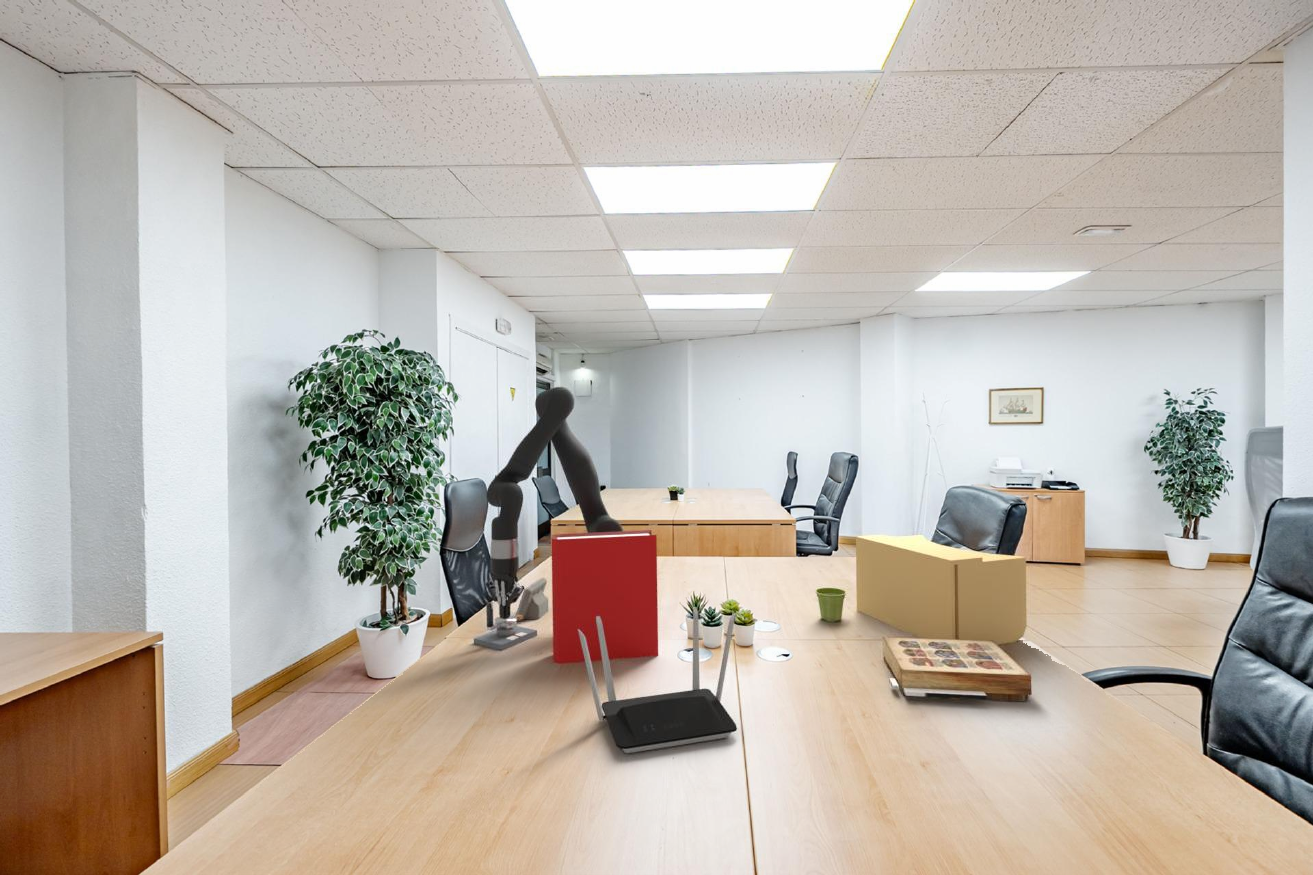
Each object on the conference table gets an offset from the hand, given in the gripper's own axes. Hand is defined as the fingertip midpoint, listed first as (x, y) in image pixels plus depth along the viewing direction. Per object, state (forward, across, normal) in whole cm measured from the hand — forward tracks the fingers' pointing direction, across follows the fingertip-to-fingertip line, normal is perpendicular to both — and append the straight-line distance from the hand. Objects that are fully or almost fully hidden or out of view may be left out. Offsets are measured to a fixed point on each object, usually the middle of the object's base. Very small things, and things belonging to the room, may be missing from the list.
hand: (504, 617), depth 164 cm
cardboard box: (+7, -98, -81) cm, 127 cm away
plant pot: (+8, -69, -70) cm, 99 cm away
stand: (+9, +6, -6) cm, 12 cm away
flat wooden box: (+8, -106, -37) cm, 112 cm away
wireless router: (+9, -58, +13) cm, 61 cm away
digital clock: (+9, +16, -28) cm, 34 cm away
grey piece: (+5, +6, -6) cm, 10 cm away
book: (+9, -26, -11) cm, 29 cm away
